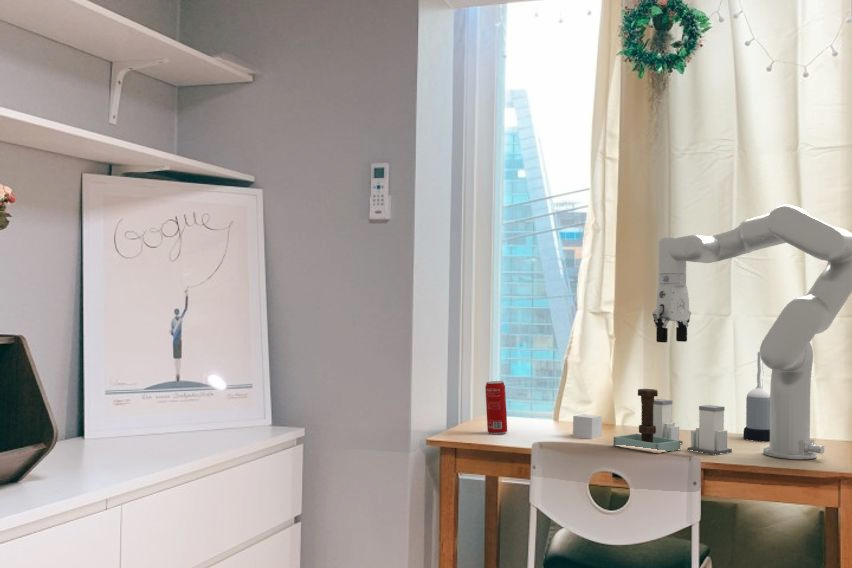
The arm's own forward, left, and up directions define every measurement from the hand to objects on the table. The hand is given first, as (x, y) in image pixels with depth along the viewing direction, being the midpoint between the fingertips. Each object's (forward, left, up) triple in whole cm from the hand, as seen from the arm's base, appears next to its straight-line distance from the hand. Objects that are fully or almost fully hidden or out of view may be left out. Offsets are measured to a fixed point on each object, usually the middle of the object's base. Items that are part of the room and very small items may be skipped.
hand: (671, 341), depth 245 cm
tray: (-3, +16, -28) cm, 32 cm away
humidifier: (-12, -24, -28) cm, 39 cm away
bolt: (-3, +16, -27) cm, 32 cm away
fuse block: (-8, +6, -28) cm, 30 cm away
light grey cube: (+19, +14, -28) cm, 36 cm away
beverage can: (+38, +32, -28) cm, 57 cm away
